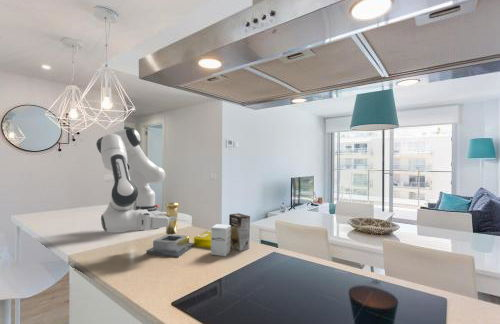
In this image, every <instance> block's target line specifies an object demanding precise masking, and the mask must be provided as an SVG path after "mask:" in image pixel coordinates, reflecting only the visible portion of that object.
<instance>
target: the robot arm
mask: <svg viewBox="0 0 500 324" xmlns="http://www.w3.org/2000/svg"><path fill="white" fill-rule="evenodd" d="M141 140H142V139H141V135H140V133H139V132H138V130H137V129H135V128H134V127H128V128H127V127H126V128H125V129H120V130H117V131H114V132H111V133H107V134H105V135H104V136H102V137H100V138H98V139H97V141H96V144H95V145H96V148H97V150H98V152H99V154H100V156H101V161H102V164H103V166H104V168H105V169H106V170H109V171H112V176H113V180H114V185H113V187H112V190H111V197H110V200H109V201H110V202H109V204H108V205H107V208H106V210H105V211H104V212H103V213H102V214H101V216H100V221H101V227H102V229H103V231H105V232H106V233H123V232H127V231H128V232H129V231H142V230H143V231H145V232H146V231H151V230H156V229H160V228H161V229H162V228H166V226H168V225H169V222H170V221H174V220H176V216H172V217H167V216H166V215H167V213H163V212H161V210H158V208H159V207H160V205H159V204H156V192H155V191H154V190H153V189H152V188H151V187H150V185H157V184H161V183H163V182H164V180H165V179H166V171H165V170H164V169H163V167H160V166H158V165H156V164H155V163H154V162H153V161H152V160H150V159H149V158H148V156H146V154H145V152H144V151H143V150H142V148H141V146H140V144H141V142H142V141H141ZM128 166H129V167H130V168H129V167H128ZM135 203H136V204H135ZM134 205H135V209H134Z"/></svg>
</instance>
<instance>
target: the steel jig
mask: <svg viewBox="0 0 500 324" xmlns="http://www.w3.org/2000/svg"><path fill="white" fill-rule="evenodd" d="M194 244H195V243H194V242H190V235H183V234H182V235H181V234H166V233H165V234H164V235H162V236H160V237H158V238H156V239H154V240H153V241H152V247H151V248H149V249H147V250H146V255H151V254H154V256H161V255H164V256H163V257H171V256H175V257H174V258H180V257H181V256H183V255H184V254H186V253H187V252H189V251H190V250H191V249H193V248H194V247H195V246H194ZM185 252H186V253H185ZM179 256H180V257H179Z"/></svg>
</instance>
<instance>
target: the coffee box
mask: <svg viewBox="0 0 500 324" xmlns="http://www.w3.org/2000/svg"><path fill="white" fill-rule="evenodd" d="M228 218H229V223H228V225H231V242H230V248H232V249H235V250H237V251H240V252H241V251H246V250H249V249H250V232H251V231H250V230H251V216H250V215H247V214H242V213H239V212H238V213H232V214H231V213H230V214H229V216H228Z"/></svg>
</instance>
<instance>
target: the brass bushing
mask: <svg viewBox="0 0 500 324" xmlns="http://www.w3.org/2000/svg"><path fill="white" fill-rule="evenodd" d="M179 206H180V203H179V202H174V201H173V202H165V207H166V214H167V215H166V216H167V217H172V216H176V220H174V221H170V222H169V225H168V226H166V227H165V235H166V234H172V235H177V233H178V214H179V213H178V210H179V209H178V207H179Z"/></svg>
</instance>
